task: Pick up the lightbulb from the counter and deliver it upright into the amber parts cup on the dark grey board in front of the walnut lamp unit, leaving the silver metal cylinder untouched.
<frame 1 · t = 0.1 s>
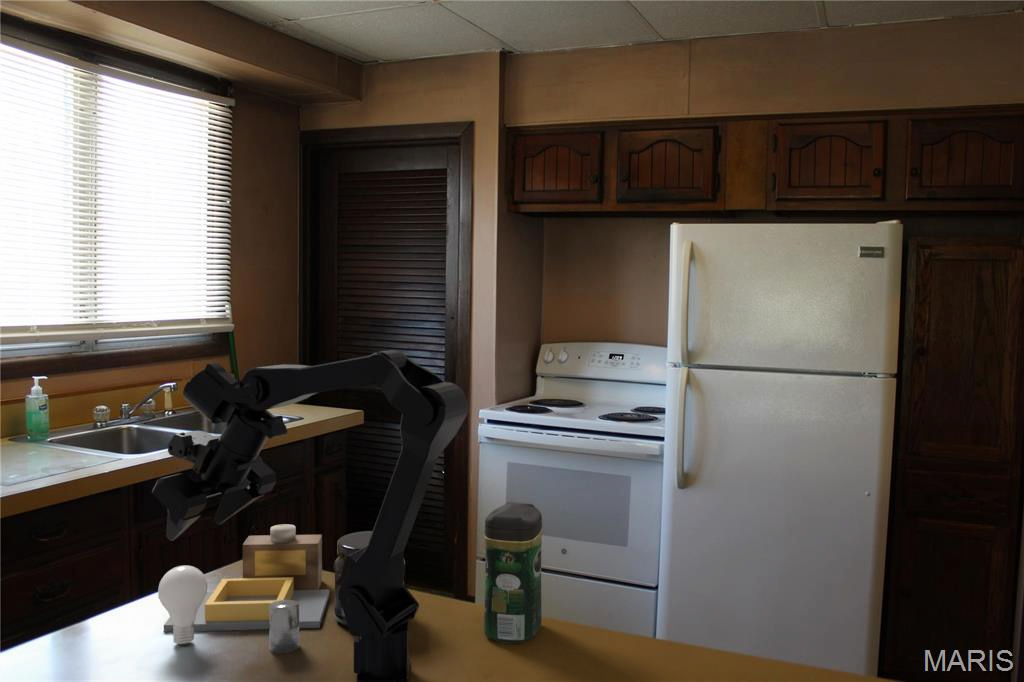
hand: (194, 530, 122), 15 cm above the countertop, tool tilted 35°, fingers open, 9 cm apart
silver metal cylinder: (284, 647, 118), on the countertop
lightbulb: (183, 645, 119), on the countertop
lamp unit: (283, 587, 142), on the countertop
supplement container: (369, 618, 129), on the countertop
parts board: (251, 612, 130), on the countertop
coffee jar: (512, 633, 125), on the countertop
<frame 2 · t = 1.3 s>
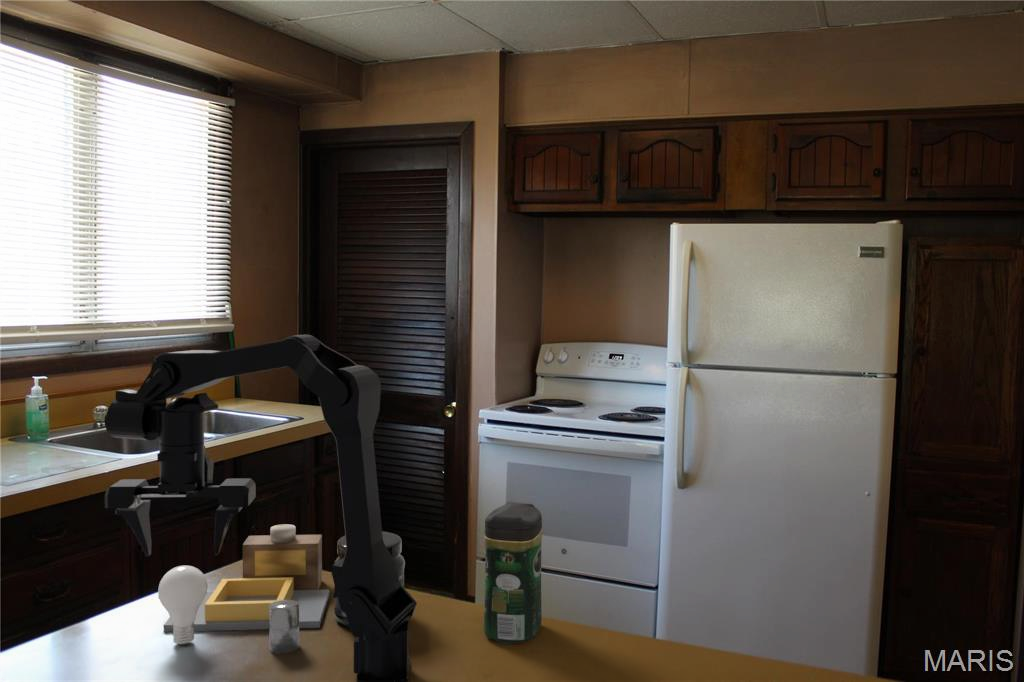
hand: (183, 554, 118), 13 cm above the countertop, tool pointing down, fingers open, 9 cm apart
nothing on the countertop moved.
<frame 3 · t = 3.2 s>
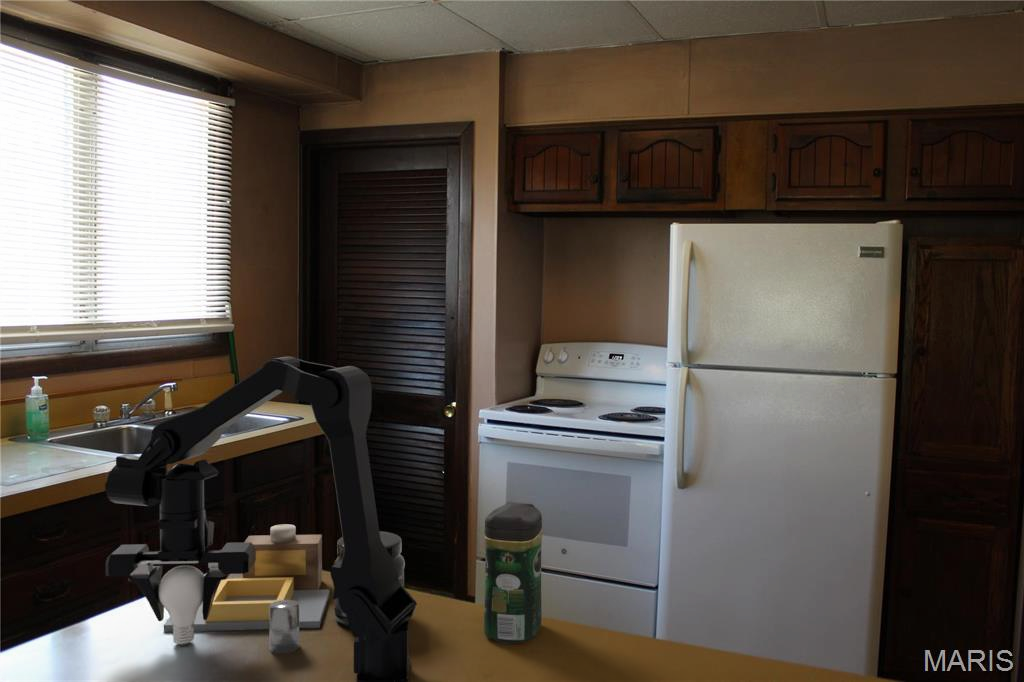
hand: (183, 619, 119), 4 cm above the countertop, tool pointing down, fingers closed on lightbulb, 6 cm apart
lightbulb: (183, 645, 119), on the countertop, touching gripper
everything else where it was.
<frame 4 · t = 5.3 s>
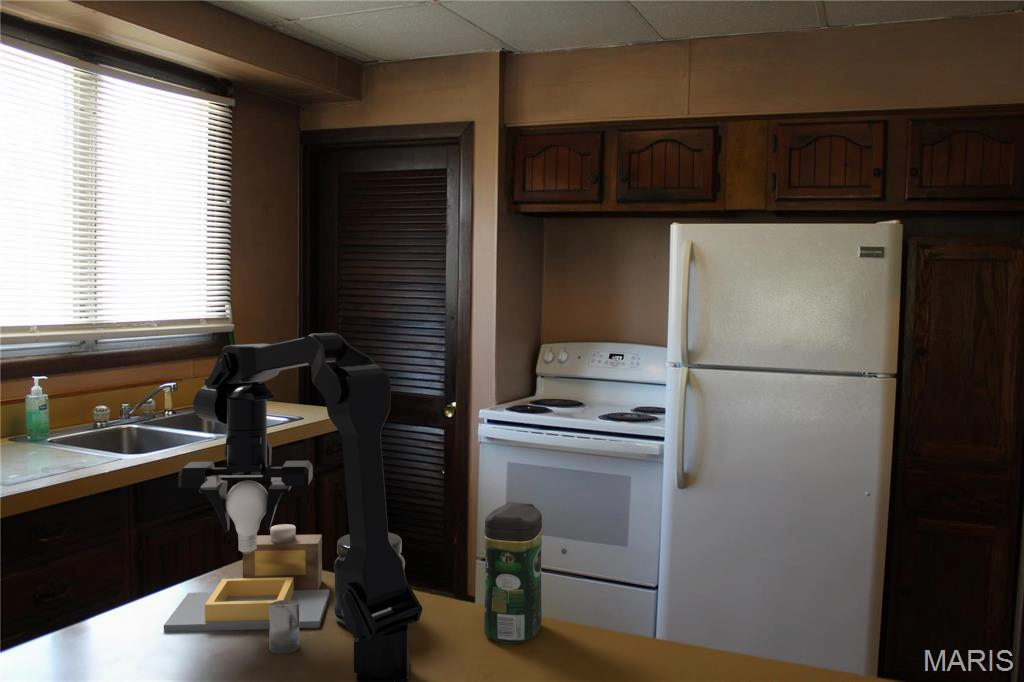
hand: (247, 530, 129), 13 cm above the countertop, tool pointing down, fingers closed on lightbulb, 6 cm apart
lightbulb: (247, 554, 129), point 9 cm above the countertop, touching gripper
everything else where it was.
when the fingers open (6 cm above the countertop, at t = 7.5 s): lightbulb drops 1 cm, resting on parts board.
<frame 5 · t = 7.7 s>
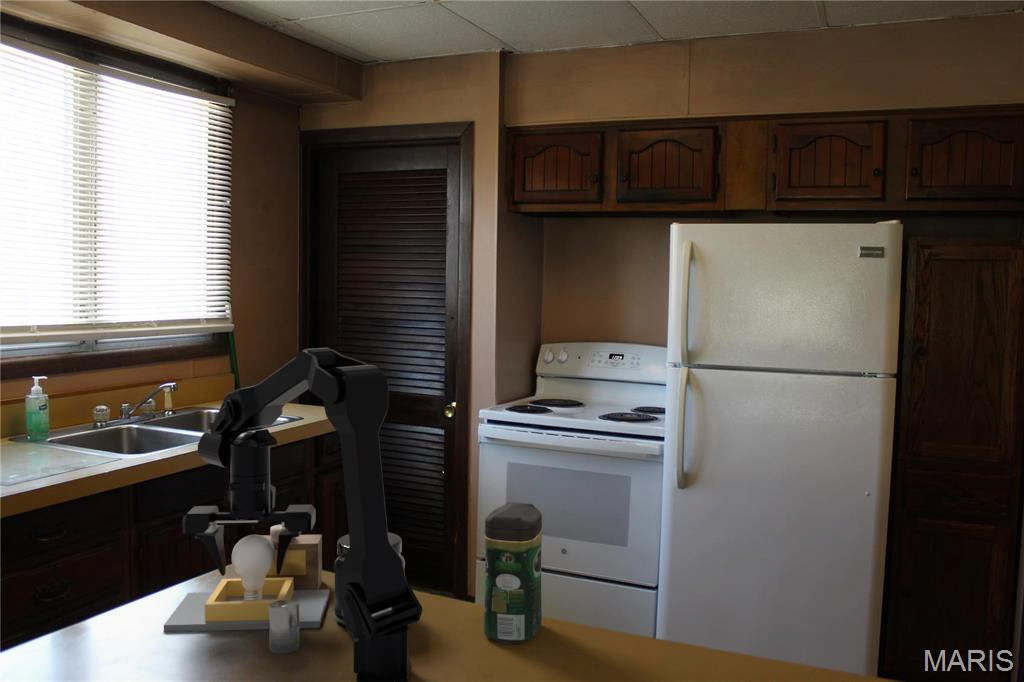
hand: (251, 574, 130), 6 cm above the countertop, tool pointing down, fingers open, 8 cm apart
lightbulb: (253, 607, 130), point 1 cm above the countertop, touching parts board
everything else where it was.
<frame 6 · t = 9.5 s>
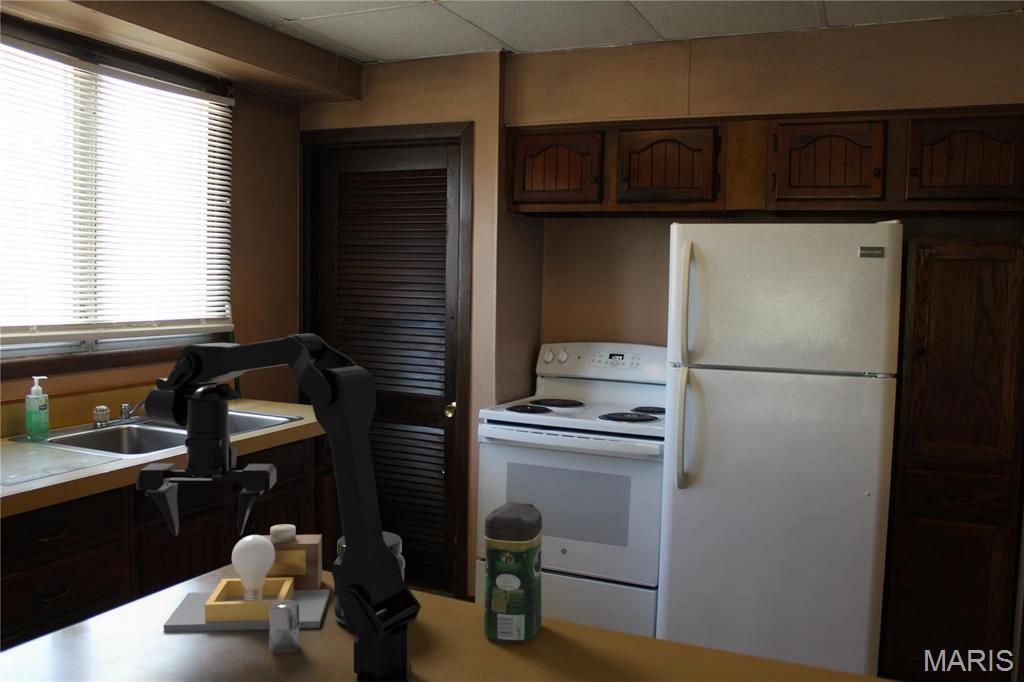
hand: (208, 534, 126), 13 cm above the countertop, tool pointing down, fingers open, 9 cm apart
nothing on the countertop moved.
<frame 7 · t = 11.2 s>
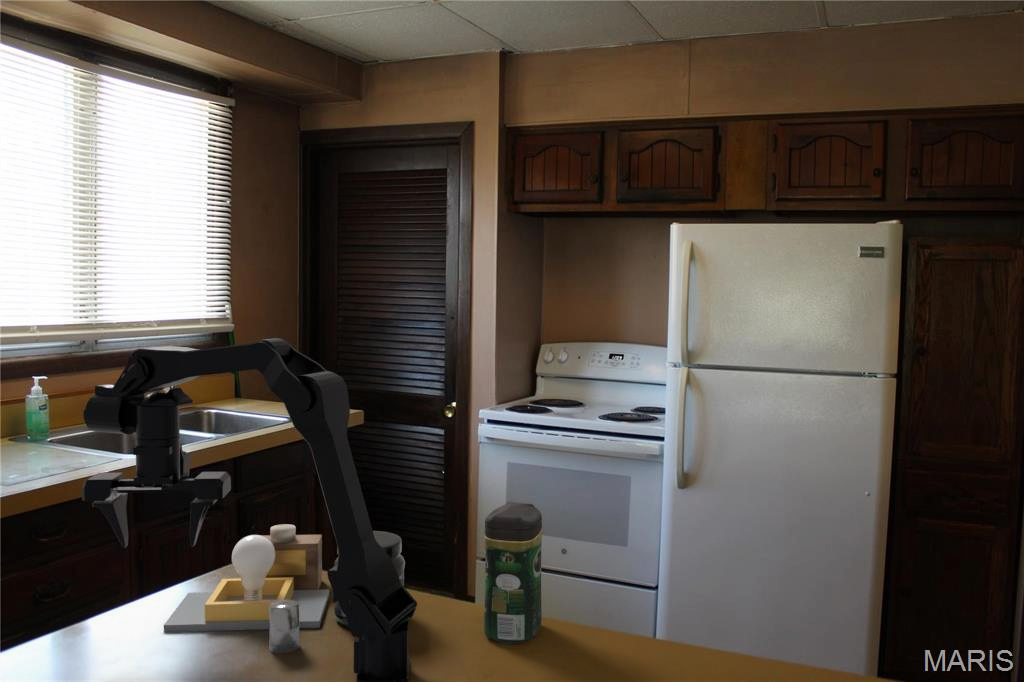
hand: (159, 546, 121), 13 cm above the countertop, tool pointing down, fingers open, 9 cm apart
nothing on the countertop moved.
at the end: lightbulb 0.4 cm off-centre on the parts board, point 0.8 cm above the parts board's base; lightbulb tilted 1°; silver metal cylinder moved 0.0 cm from its start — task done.
